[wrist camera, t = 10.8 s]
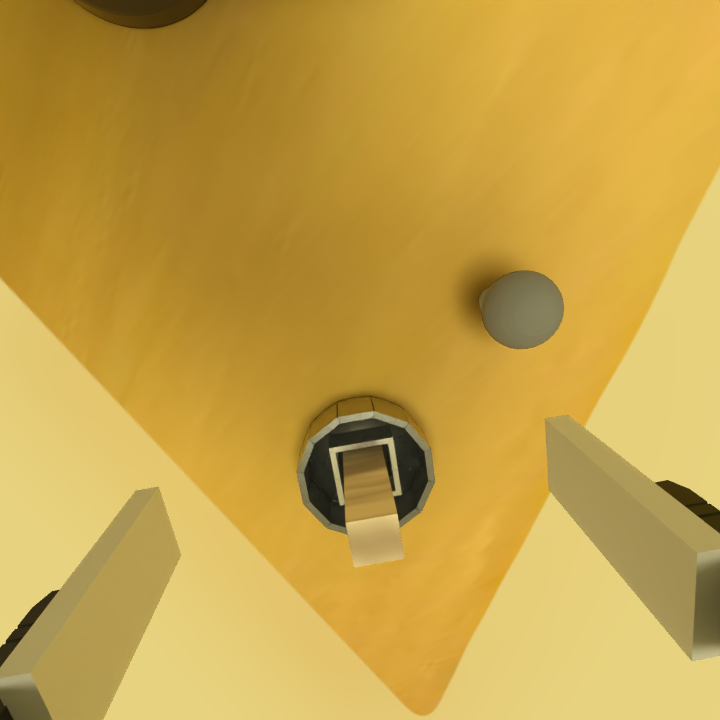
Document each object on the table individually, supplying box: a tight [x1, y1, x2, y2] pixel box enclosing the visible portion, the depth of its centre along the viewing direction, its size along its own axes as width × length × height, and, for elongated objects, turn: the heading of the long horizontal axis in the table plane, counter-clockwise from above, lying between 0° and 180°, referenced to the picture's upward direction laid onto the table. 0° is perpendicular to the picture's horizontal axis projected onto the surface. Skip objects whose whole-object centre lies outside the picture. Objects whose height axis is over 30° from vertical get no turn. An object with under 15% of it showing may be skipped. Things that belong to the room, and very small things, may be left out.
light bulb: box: [479, 271, 564, 349], centre depth 37 cm, size 6×6×10 cm
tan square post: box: [343, 445, 405, 567], centre depth 38 cm, size 4×4×13 cm
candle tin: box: [297, 397, 435, 535], centre depth 42 cm, size 12×12×4 cm
